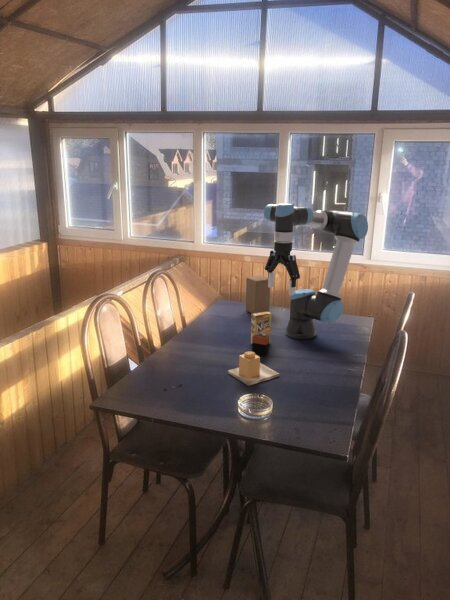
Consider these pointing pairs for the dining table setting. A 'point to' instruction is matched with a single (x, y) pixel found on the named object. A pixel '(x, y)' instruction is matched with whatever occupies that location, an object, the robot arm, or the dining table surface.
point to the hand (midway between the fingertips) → (281, 290)
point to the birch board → (264, 375)
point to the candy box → (261, 323)
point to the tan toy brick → (249, 365)
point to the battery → (260, 344)
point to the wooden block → (257, 294)
